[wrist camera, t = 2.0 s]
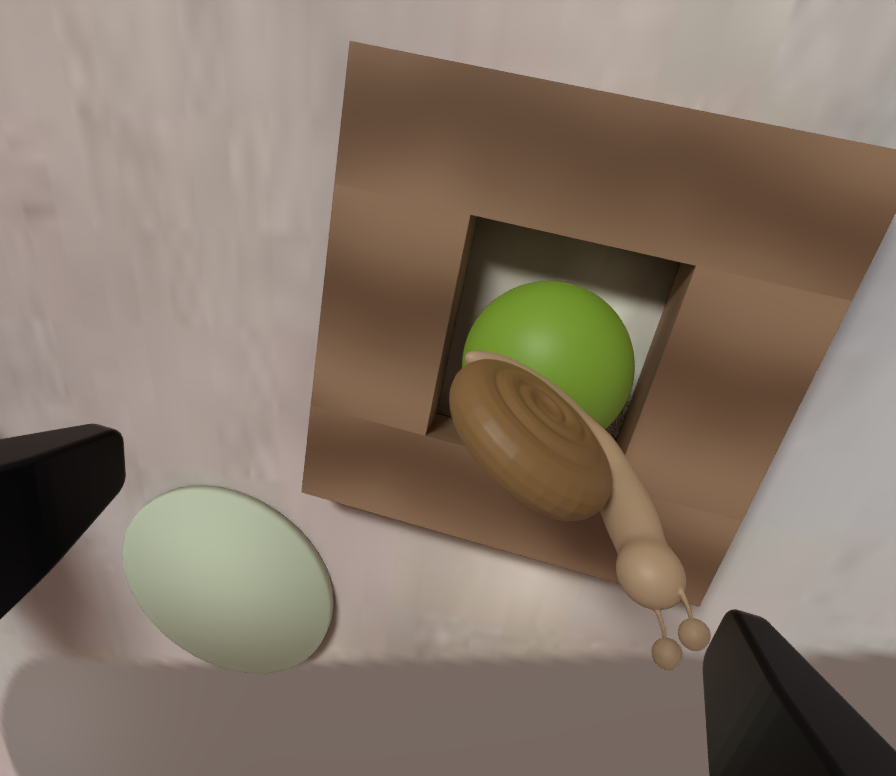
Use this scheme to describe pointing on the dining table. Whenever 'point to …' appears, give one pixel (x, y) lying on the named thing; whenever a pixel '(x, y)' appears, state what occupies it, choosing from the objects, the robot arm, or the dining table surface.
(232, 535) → the felt coaster
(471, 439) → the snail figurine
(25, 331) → the dining table surface
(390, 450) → the frame
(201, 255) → the dining table surface
